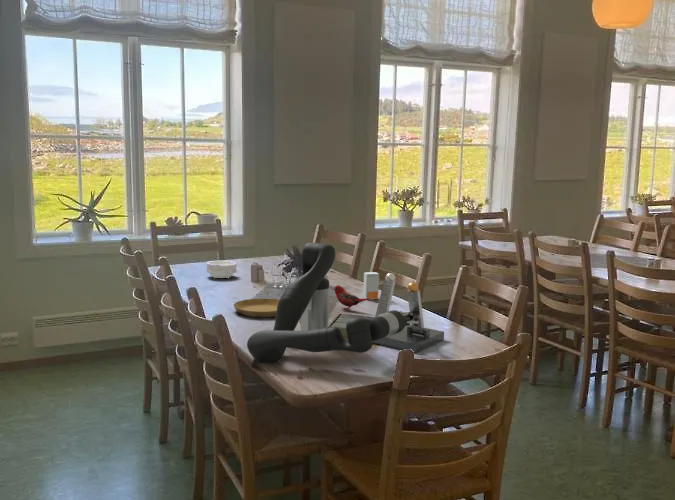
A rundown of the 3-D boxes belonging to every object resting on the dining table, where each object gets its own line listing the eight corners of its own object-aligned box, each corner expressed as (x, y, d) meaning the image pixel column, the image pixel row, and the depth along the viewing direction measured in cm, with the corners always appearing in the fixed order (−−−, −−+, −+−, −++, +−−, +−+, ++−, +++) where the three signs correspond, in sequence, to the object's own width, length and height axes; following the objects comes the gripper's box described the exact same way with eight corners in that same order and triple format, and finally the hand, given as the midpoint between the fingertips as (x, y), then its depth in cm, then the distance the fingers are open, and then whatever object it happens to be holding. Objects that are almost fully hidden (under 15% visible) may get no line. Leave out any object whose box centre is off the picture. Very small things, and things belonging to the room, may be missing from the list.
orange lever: (422, 337, 222) (416, 286, 215) (409, 335, 225) (403, 284, 218) (427, 332, 225) (421, 281, 217) (414, 330, 228) (408, 279, 220)
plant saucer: (249, 303, 280) (249, 295, 279) (301, 308, 273) (301, 300, 272) (223, 316, 257) (223, 307, 257) (278, 322, 250) (278, 313, 249)
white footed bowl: (242, 277, 335) (242, 262, 333) (222, 281, 322) (222, 266, 321) (220, 273, 343) (220, 258, 341) (200, 277, 330) (200, 262, 329)
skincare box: (365, 300, 289) (366, 274, 287) (362, 298, 293) (363, 272, 291) (378, 299, 291) (379, 273, 289) (375, 297, 295) (376, 271, 293)
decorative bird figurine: (334, 306, 275) (334, 283, 274) (370, 312, 267) (371, 289, 265) (330, 308, 273) (331, 285, 271) (367, 314, 264) (368, 290, 263)
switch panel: (416, 353, 215) (416, 336, 214) (352, 338, 230) (352, 323, 229) (443, 339, 231) (444, 324, 230) (382, 326, 246) (383, 312, 245)
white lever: (382, 326, 231) (395, 272, 234) (370, 324, 234) (383, 271, 237) (387, 328, 234) (399, 275, 237) (375, 325, 237) (388, 273, 240)
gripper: (370, 331, 212) (398, 321, 226) (405, 339, 204) (431, 328, 218) (371, 309, 211) (399, 300, 225) (406, 316, 203) (432, 306, 217)
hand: (415, 314), depth 221 cm, fingers closed
